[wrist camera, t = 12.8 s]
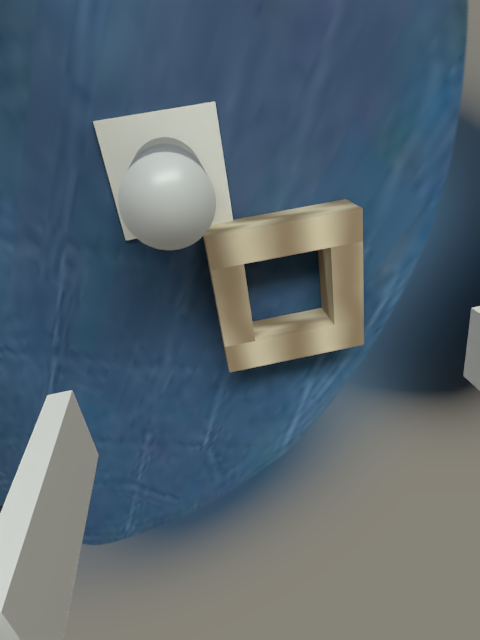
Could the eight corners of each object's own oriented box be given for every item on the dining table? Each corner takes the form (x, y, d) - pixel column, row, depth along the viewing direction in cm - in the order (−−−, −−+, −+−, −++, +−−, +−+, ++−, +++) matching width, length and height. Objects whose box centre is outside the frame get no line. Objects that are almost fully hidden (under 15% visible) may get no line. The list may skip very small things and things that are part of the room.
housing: (224, 352, 47) (229, 372, 44) (201, 225, 41) (204, 237, 37) (349, 326, 48) (364, 344, 45) (345, 199, 42) (362, 208, 38)
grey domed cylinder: (141, 214, 39) (132, 257, 28) (123, 143, 36) (106, 161, 26) (207, 203, 39) (222, 241, 29) (194, 131, 37) (207, 144, 26)
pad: (126, 239, 40) (125, 240, 40) (93, 121, 35) (93, 121, 35) (232, 219, 41) (233, 220, 40) (214, 101, 36) (215, 101, 36)
